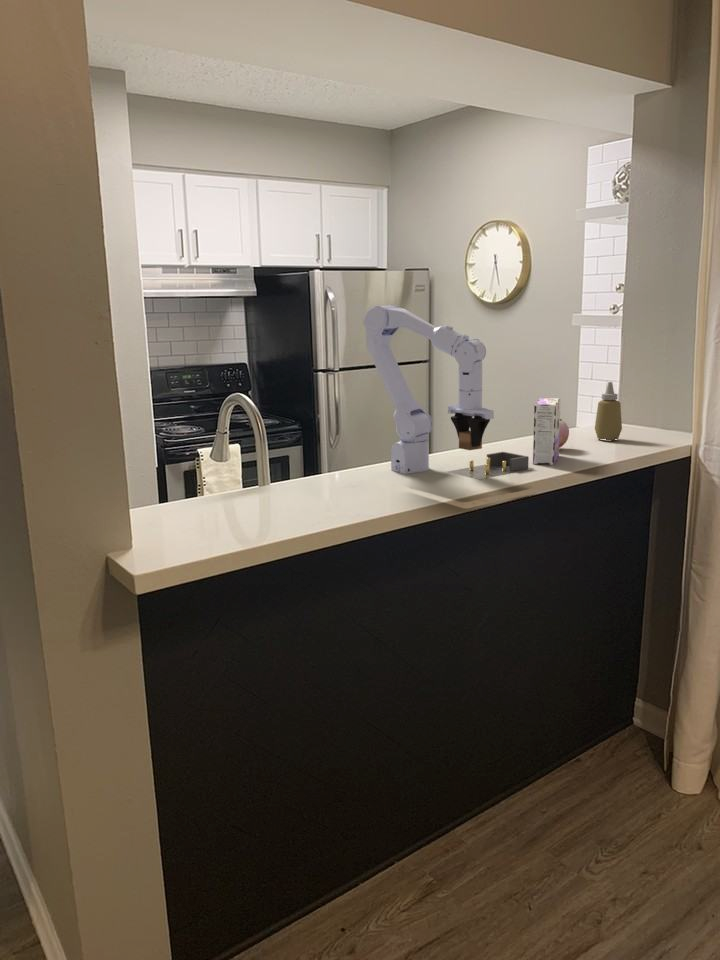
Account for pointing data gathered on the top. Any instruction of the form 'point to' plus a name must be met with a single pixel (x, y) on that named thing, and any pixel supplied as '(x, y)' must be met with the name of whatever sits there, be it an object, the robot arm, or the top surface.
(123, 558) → the top surface
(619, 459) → the top surface
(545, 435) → the candy box
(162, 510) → the top surface
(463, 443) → the walnut block
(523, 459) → the housing
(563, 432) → the decorative fruit
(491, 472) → the base plate
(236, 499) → the top surface
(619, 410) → the squeeze bottle
